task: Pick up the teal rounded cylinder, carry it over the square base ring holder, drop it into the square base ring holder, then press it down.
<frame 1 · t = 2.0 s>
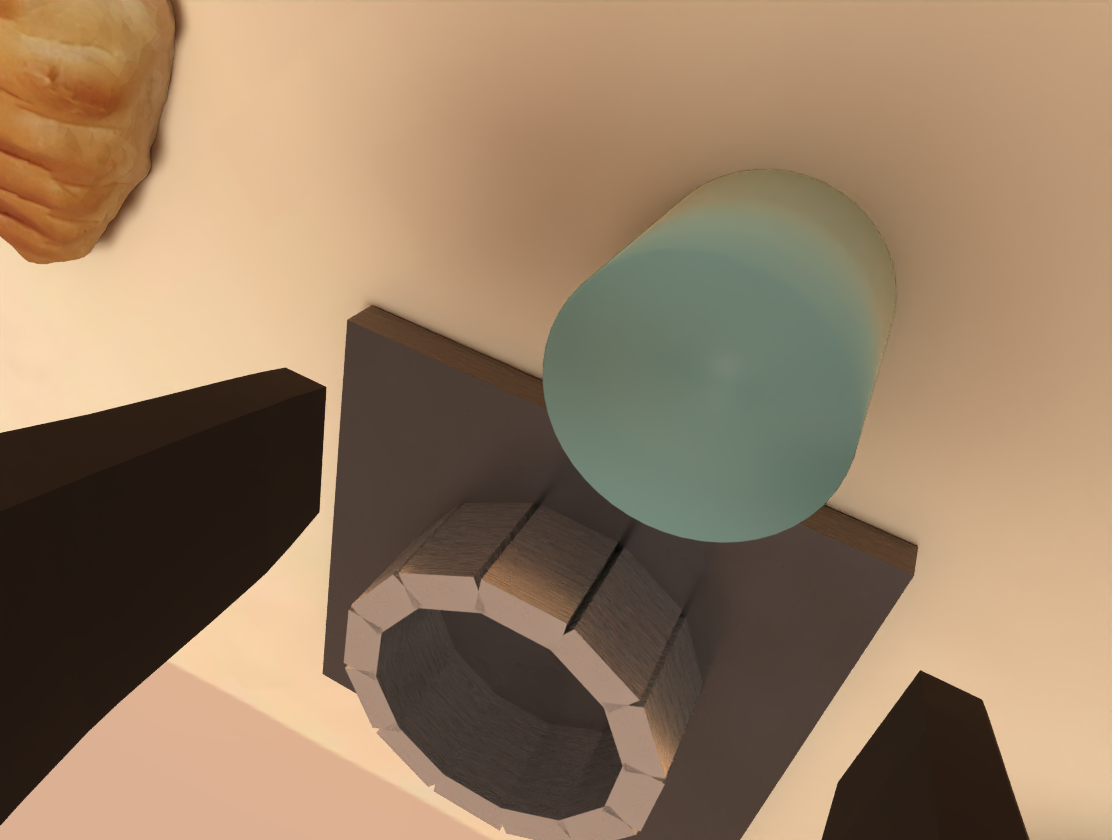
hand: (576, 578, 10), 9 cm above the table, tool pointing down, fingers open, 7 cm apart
square base ring holder: (559, 613, 24), on the table
pastry: (94, 68, 22), on the table
teal rounded cylinder: (762, 295, 17), on the table
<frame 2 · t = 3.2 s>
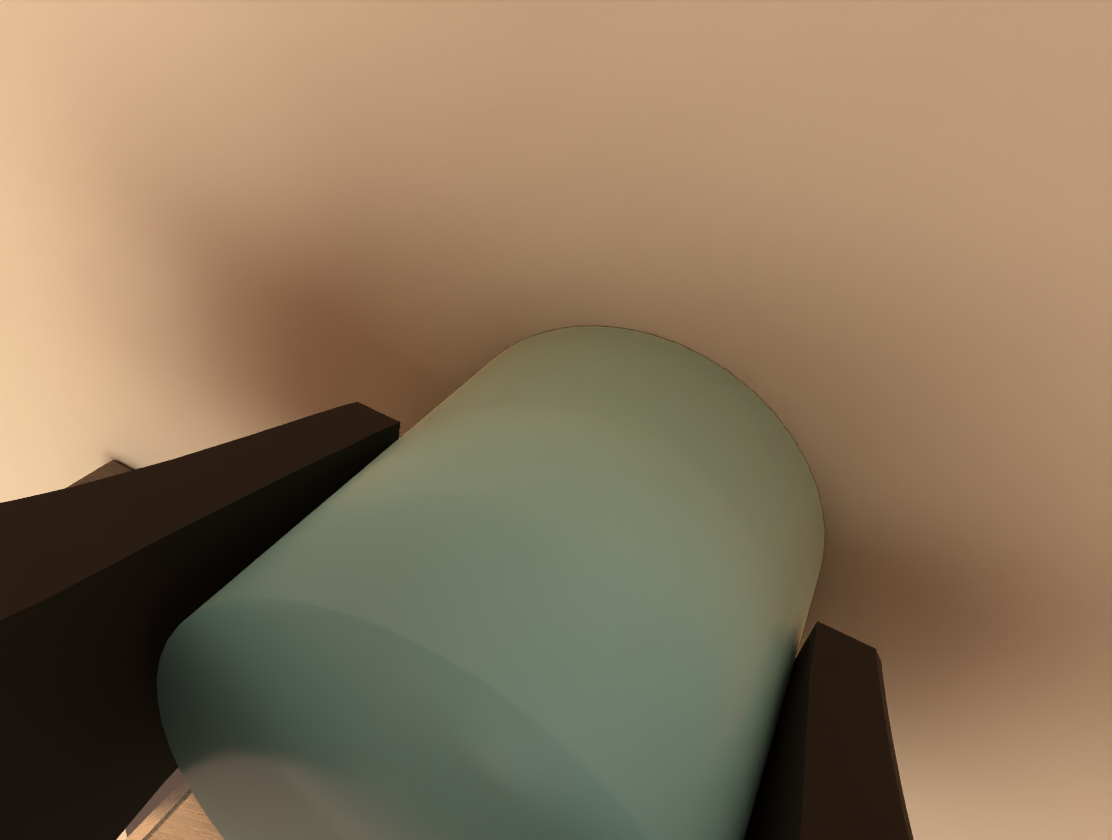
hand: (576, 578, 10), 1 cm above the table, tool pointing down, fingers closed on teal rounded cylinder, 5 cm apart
teal rounded cylinder: (620, 509, 11), on the table, touching gripper
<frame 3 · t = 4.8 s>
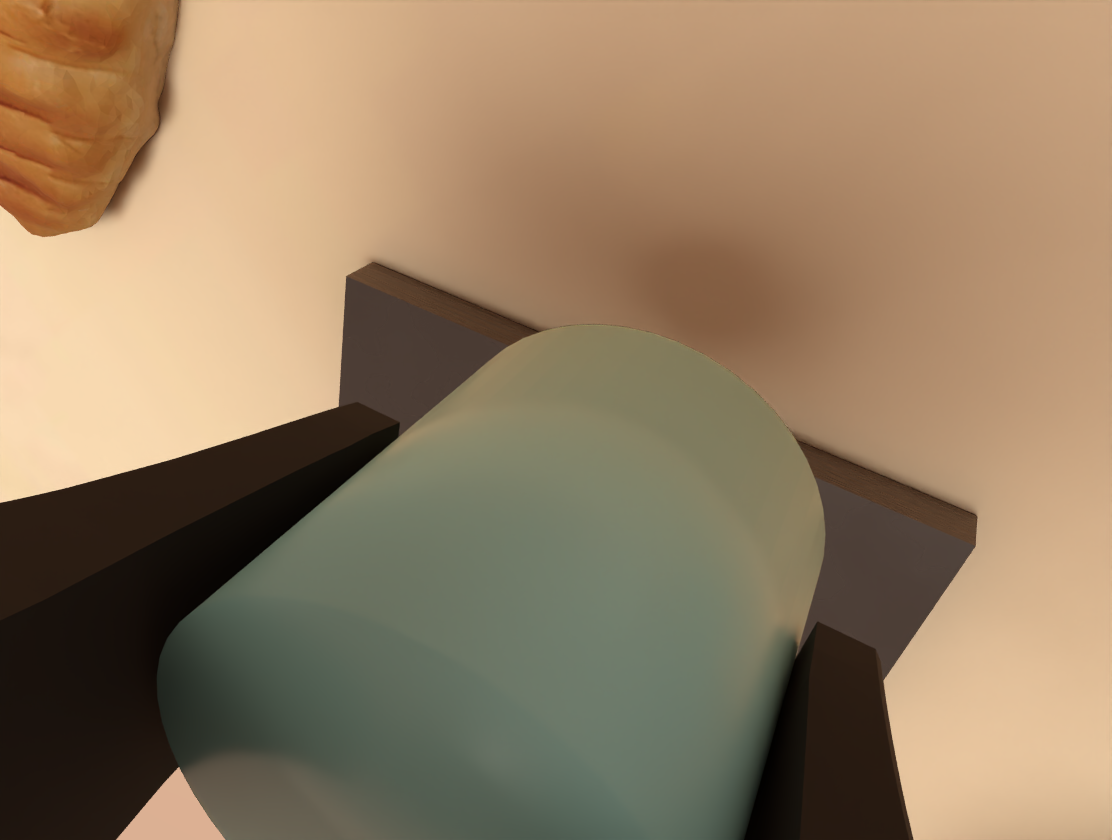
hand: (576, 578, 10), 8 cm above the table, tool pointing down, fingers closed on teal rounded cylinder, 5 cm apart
square base ring holder: (576, 597, 22), on the table
pastry: (96, 18, 20), on the table
teal rounded cylinder: (621, 508, 11), point 7 cm above the table, touching gripper
when the fingers open (6 cm above the table, at t = 6.3 s): teal rounded cylinder drops 3 cm, resting on square base ring holder.
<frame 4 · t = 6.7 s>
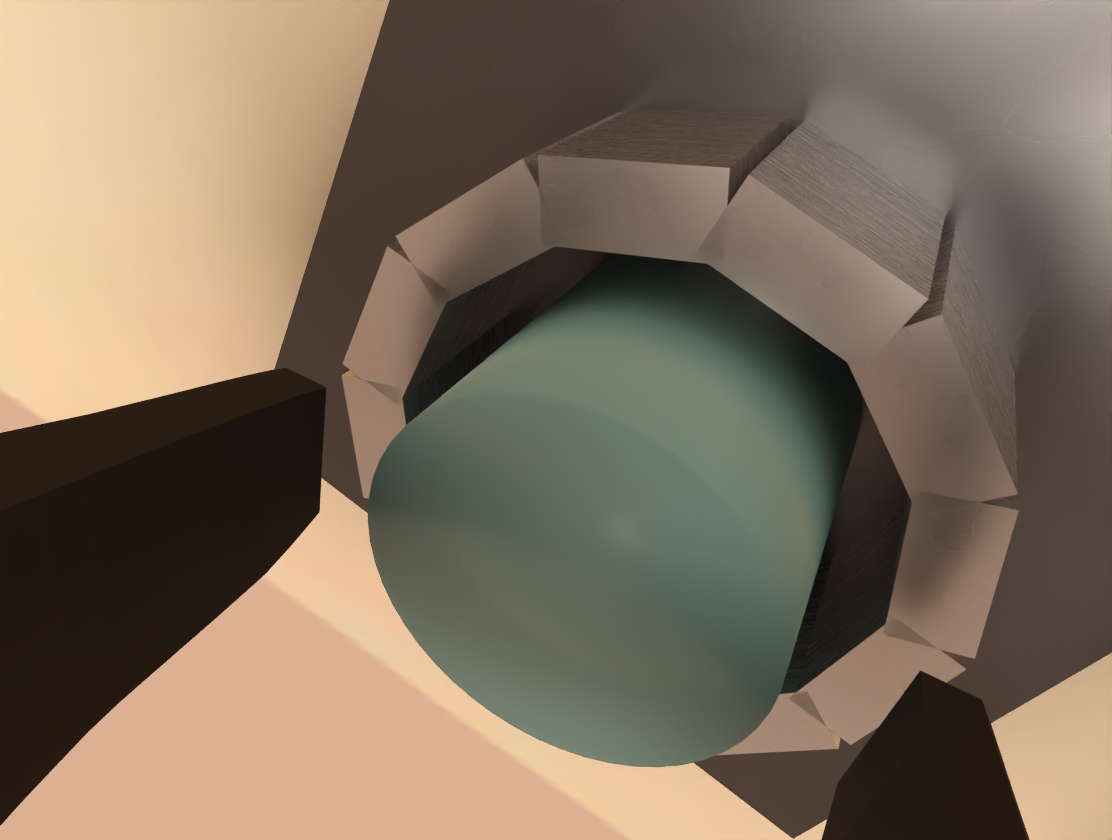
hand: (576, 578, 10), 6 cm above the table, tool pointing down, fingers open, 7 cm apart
square base ring holder: (710, 372, 14), on the table
teal rounded cylinder: (692, 396, 13), point 1 cm above the table, touching square base ring holder
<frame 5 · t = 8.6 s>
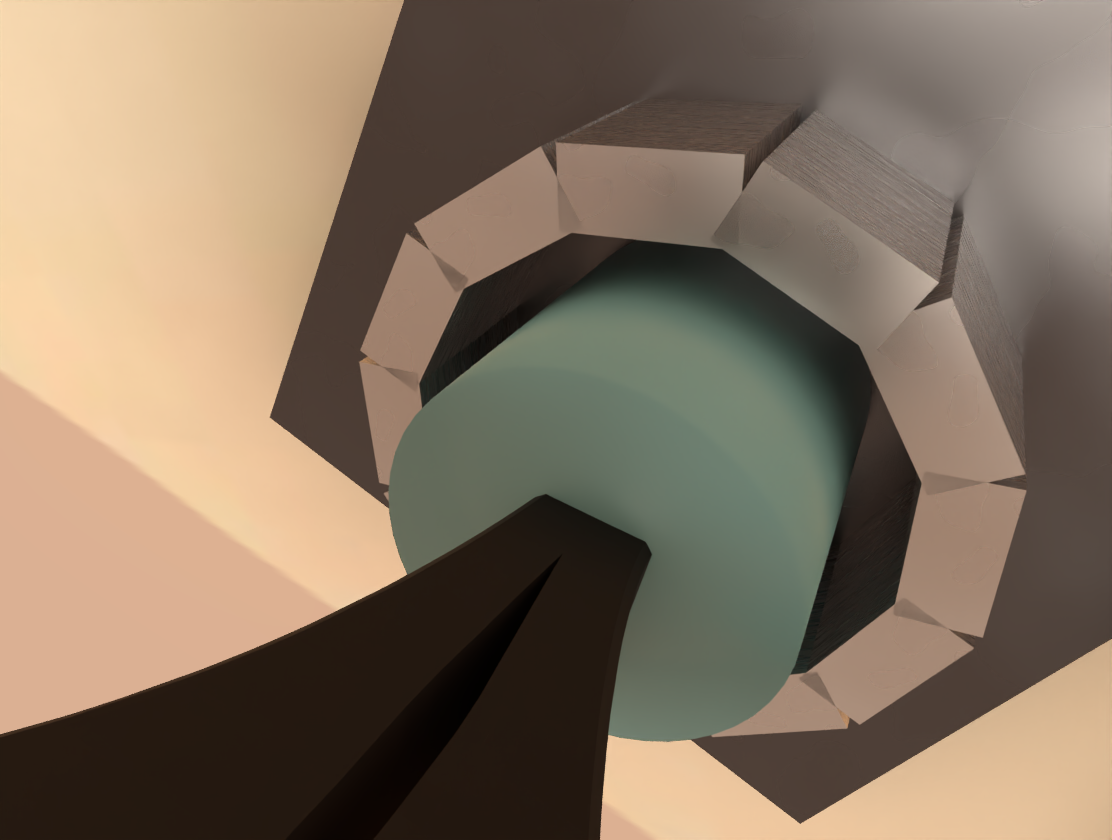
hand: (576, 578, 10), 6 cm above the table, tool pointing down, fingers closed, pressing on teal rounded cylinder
square base ring holder: (720, 361, 14), on the table
teal rounded cylinder: (703, 383, 13), point 1 cm above the table, touching gripper, square base ring holder
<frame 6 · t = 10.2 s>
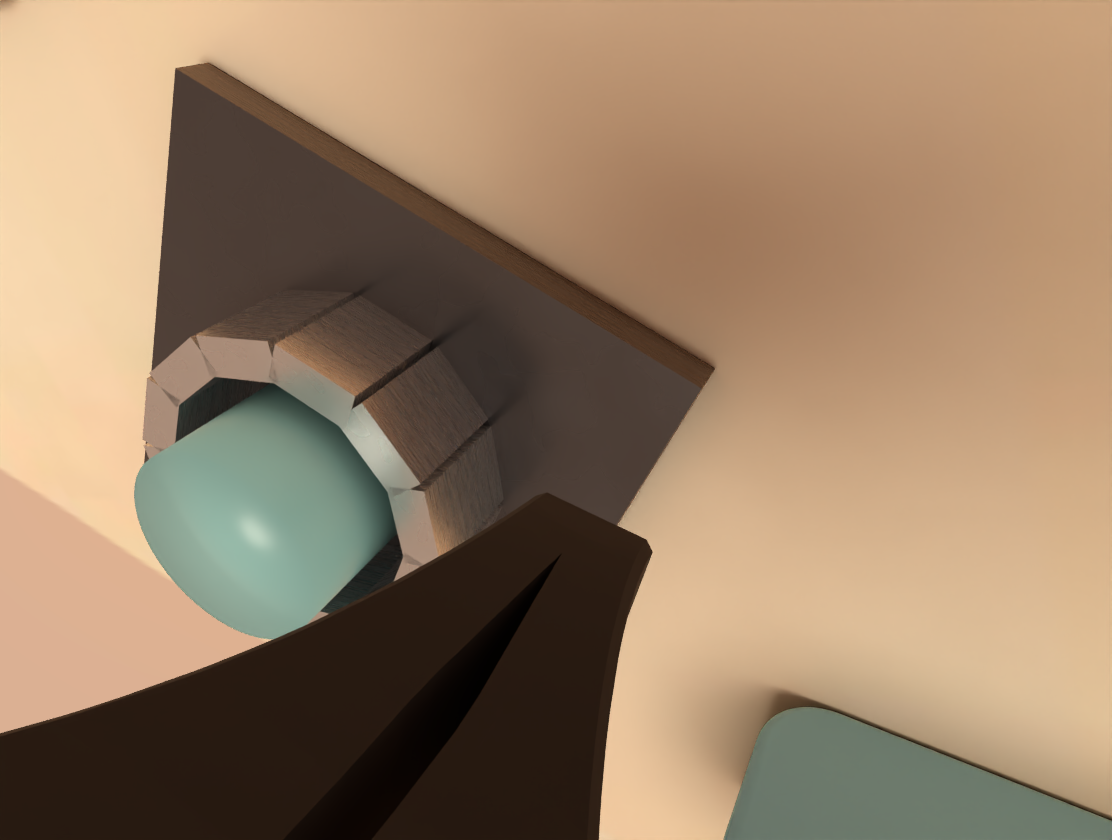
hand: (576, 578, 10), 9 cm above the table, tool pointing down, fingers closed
square base ring holder: (379, 426, 23), on the table
data package: (990, 828, 21), on the table
teal rounded cylinder: (357, 441, 22), point 1 cm above the table, touching square base ring holder
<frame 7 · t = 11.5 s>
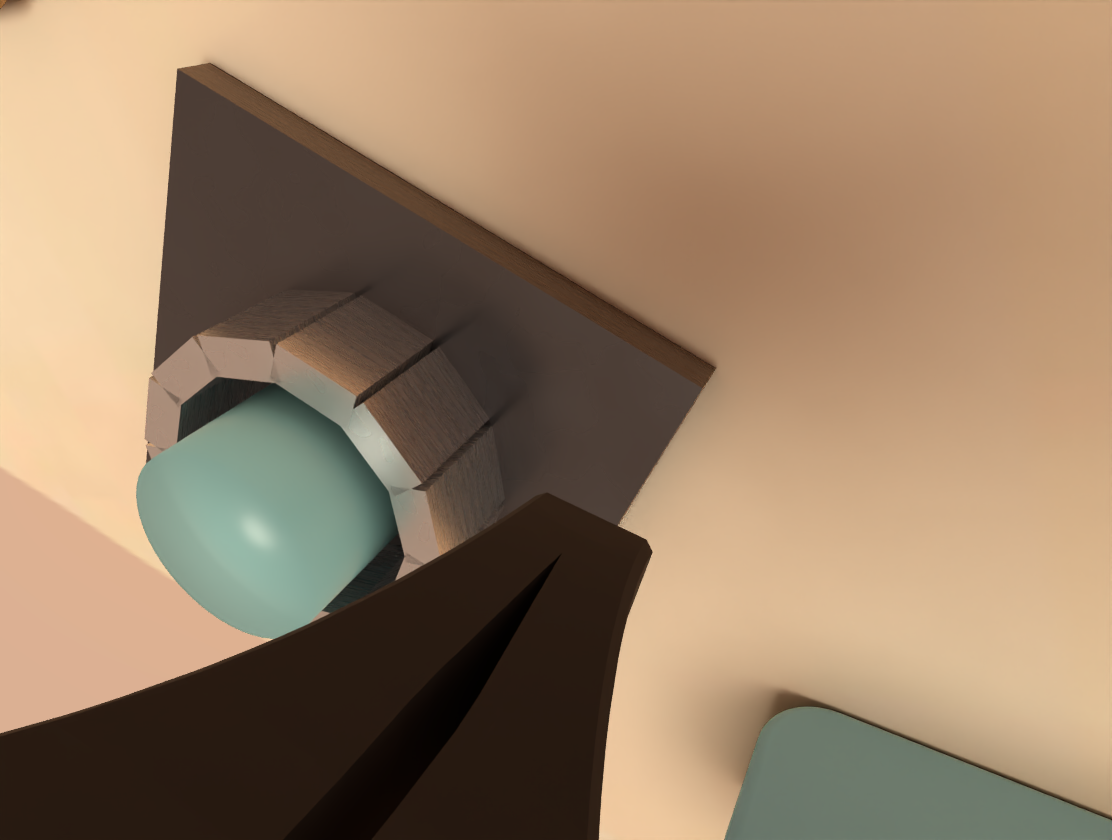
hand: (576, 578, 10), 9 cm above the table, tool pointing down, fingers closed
square base ring holder: (381, 426, 23), on the table
data package: (991, 828, 21), on the table
teal rounded cylinder: (358, 441, 22), point 1 cm above the table, touching square base ring holder
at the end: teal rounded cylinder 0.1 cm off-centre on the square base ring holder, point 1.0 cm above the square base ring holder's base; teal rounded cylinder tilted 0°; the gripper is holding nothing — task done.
